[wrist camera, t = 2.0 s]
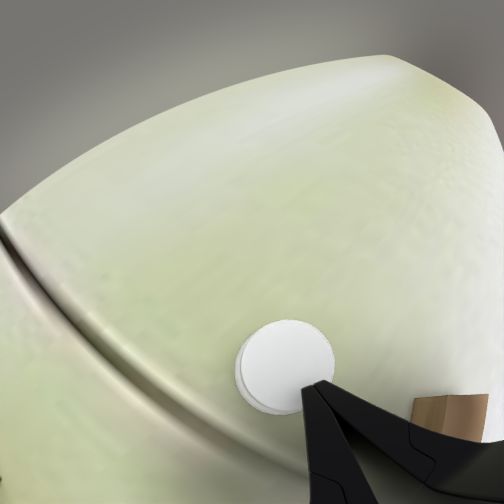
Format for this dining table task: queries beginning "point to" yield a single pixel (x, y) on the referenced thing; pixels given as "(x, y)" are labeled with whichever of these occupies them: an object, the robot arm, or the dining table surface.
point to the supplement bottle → (282, 365)
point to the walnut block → (452, 415)
